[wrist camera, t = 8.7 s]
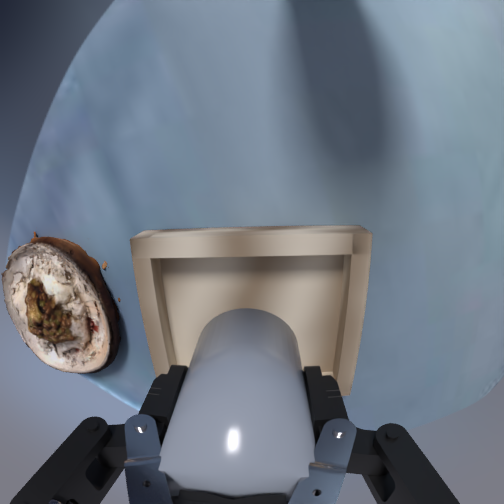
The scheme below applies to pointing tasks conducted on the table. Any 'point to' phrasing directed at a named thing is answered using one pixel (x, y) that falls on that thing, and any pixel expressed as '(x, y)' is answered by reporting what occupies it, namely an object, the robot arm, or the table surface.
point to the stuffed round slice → (62, 305)
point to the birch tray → (256, 288)
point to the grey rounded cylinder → (241, 411)
